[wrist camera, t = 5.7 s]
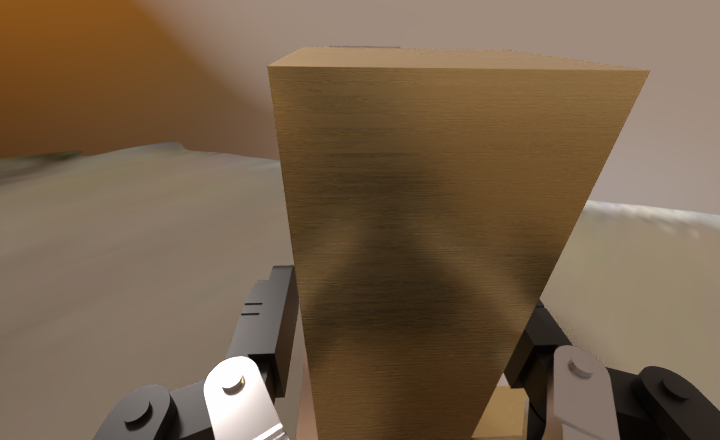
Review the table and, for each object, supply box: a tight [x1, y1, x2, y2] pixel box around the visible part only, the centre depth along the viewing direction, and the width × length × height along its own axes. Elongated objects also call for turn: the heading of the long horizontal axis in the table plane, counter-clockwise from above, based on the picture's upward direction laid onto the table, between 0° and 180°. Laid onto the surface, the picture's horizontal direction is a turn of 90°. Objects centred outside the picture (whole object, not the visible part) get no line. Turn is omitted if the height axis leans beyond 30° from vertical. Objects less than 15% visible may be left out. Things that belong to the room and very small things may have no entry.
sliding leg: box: [267, 47, 650, 440], centre depth 10 cm, size 4×10×15 cm, turn 93°
